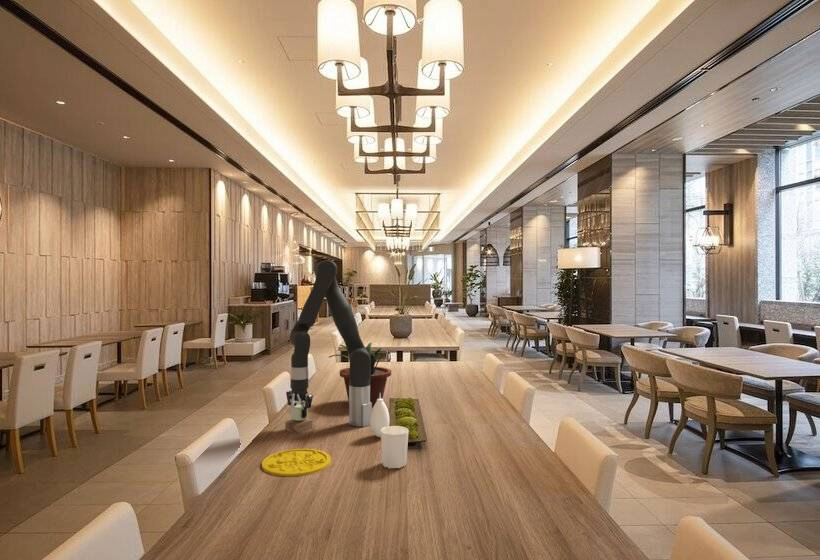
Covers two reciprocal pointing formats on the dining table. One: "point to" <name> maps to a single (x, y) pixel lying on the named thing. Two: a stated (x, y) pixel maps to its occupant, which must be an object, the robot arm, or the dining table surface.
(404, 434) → the candle holder
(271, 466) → the decorative medallion
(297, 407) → the sage wooden cube
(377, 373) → the potted plant
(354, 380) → the robot arm
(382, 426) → the sauce bottle
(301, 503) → the dining table surface
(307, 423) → the tan square block
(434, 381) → the dining table surface
